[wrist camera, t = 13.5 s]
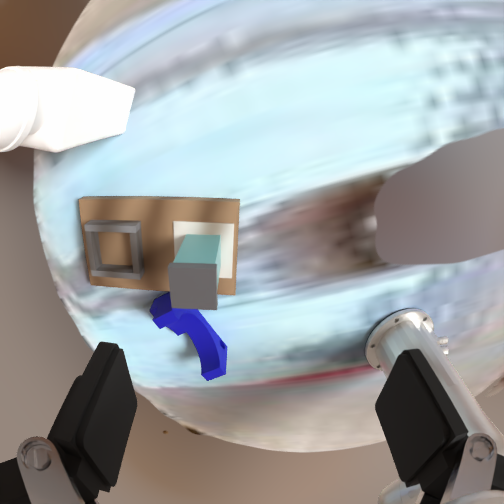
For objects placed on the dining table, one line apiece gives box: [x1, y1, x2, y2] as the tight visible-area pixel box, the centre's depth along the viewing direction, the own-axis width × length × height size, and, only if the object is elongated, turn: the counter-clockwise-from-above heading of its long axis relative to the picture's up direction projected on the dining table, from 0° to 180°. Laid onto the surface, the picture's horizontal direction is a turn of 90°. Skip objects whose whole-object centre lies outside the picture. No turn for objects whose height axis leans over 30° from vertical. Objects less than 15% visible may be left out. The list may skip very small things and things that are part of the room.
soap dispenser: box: [0, 66, 135, 153], centre depth 21 cm, size 6×6×22 cm
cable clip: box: [150, 292, 227, 381], centre depth 40 cm, size 12×4×6 cm, turn 29°
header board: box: [79, 196, 240, 295], centre depth 36 cm, size 20×12×4 cm, turn 86°
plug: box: [168, 234, 221, 310], centre depth 32 cm, size 4×4×9 cm
